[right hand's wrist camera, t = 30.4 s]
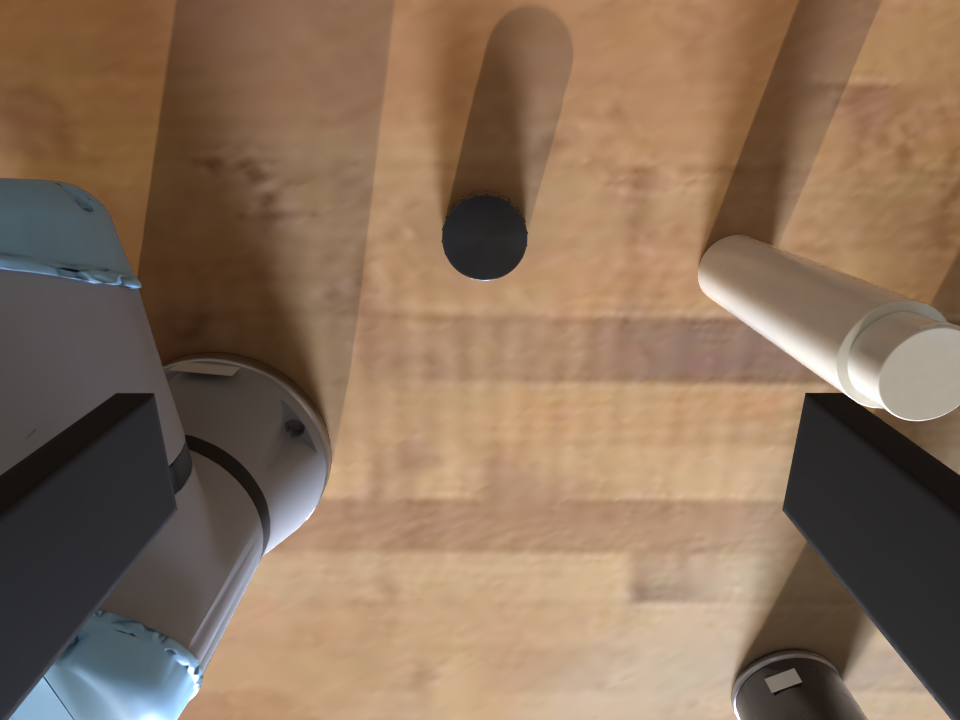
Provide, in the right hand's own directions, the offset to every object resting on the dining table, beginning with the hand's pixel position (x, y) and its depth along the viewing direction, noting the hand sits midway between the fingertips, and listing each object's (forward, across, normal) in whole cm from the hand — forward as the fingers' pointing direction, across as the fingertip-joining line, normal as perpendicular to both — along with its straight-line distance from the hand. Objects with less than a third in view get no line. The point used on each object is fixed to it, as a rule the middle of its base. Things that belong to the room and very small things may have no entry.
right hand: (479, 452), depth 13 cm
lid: (+28, 0, 0) cm, 28 cm away
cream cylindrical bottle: (+29, +17, -2) cm, 34 cm away
